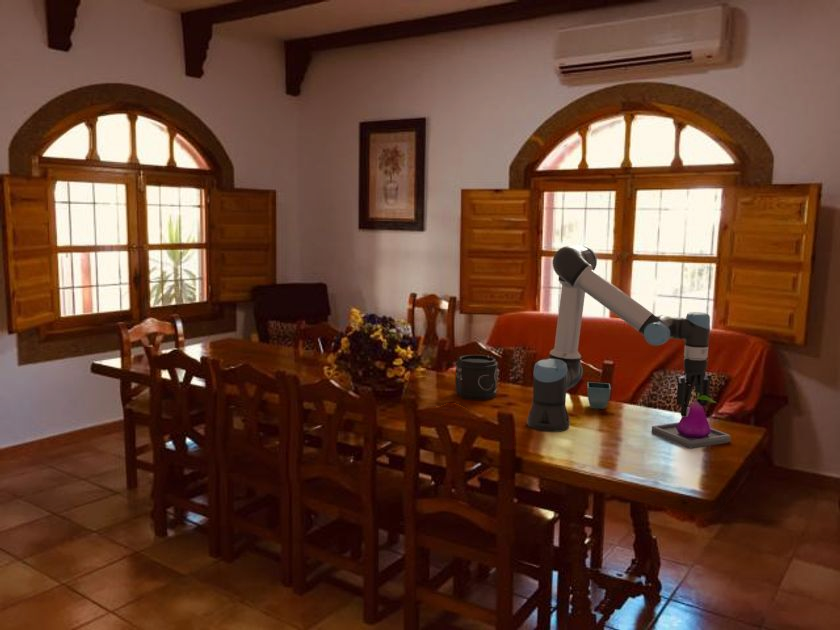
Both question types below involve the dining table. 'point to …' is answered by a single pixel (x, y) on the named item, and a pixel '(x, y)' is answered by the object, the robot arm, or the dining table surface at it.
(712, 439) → the grey square tray
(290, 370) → the dining table surface
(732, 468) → the dining table surface
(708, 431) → the pear
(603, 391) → the flower pot
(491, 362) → the dark grey canister
